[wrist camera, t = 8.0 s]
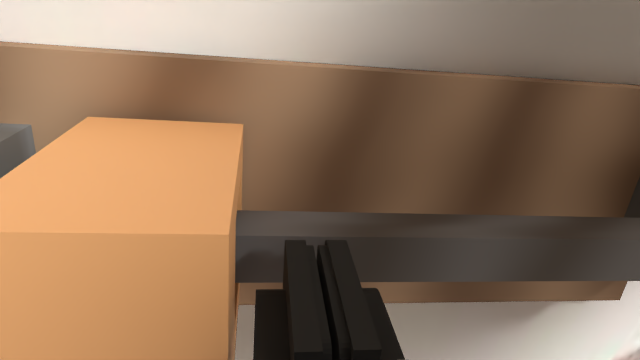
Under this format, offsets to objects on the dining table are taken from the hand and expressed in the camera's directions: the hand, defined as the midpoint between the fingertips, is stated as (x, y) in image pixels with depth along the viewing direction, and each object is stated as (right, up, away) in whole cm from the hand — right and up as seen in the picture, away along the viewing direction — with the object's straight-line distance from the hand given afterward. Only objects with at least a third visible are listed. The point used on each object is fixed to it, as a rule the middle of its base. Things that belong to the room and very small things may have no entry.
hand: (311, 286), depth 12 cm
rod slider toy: (+2, +2, +6) cm, 7 cm away
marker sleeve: (-5, +2, +4) cm, 7 cm away
